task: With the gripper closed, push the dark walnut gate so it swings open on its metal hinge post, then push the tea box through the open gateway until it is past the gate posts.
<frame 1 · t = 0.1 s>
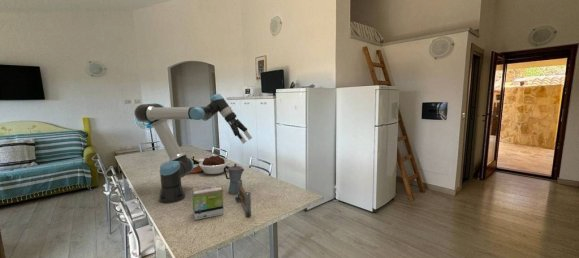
hand: (248, 140, 163), 36 cm above the table, tool tilted 35°, fingers open, 13 cm apart
gate: (243, 197, 145), point 6 cm above the table, hinge at 0.0°
bowl of brown food: (215, 172, 214), on the table
moka pot: (234, 192, 169), on the table
tea box: (208, 214, 138), on the table
gate posts: (240, 200, 156), on the table
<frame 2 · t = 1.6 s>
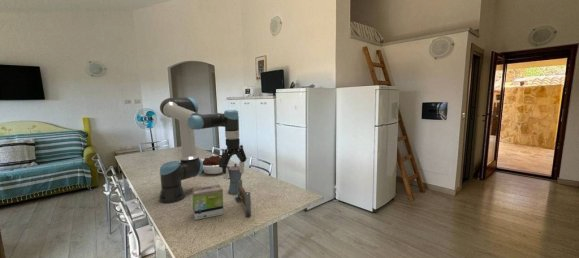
hand: (234, 175, 139), 21 cm above the table, tool pointing down, fingers open, 12 cm apart
nothing on the table moved.
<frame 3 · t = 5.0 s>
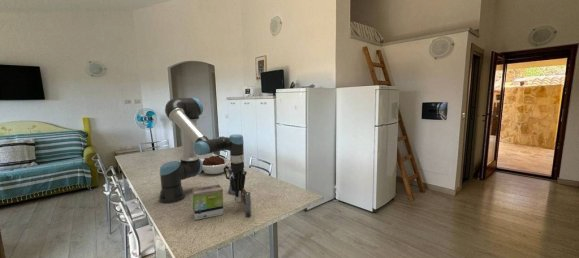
hand: (238, 201, 143), 5 cm above the table, tool pointing down, fingers closed
gate: (244, 197, 145), point 6 cm above the table, hinge at 2.3°, touching gripper
everything else where it was.
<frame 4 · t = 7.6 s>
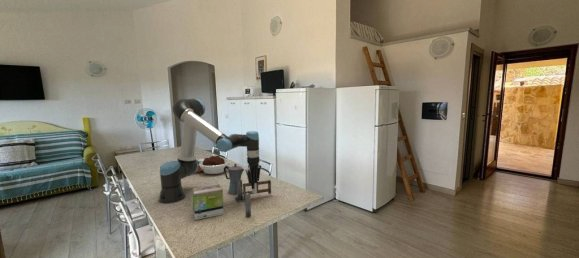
hand: (254, 193, 155), 5 cm above the table, tool pointing down, fingers closed
gate: (257, 188, 159), point 6 cm above the table, hinge at 88.5°, touching gripper
everything else where it was.
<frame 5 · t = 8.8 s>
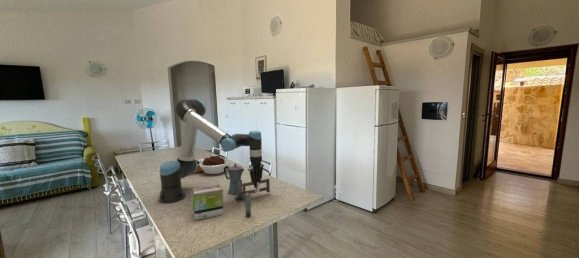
hand: (257, 191, 158), 4 cm above the table, tool pointing down, fingers closed
gate: (256, 188, 160), point 6 cm above the table, hinge at 97.3°, touching gripper
everything else where it was.
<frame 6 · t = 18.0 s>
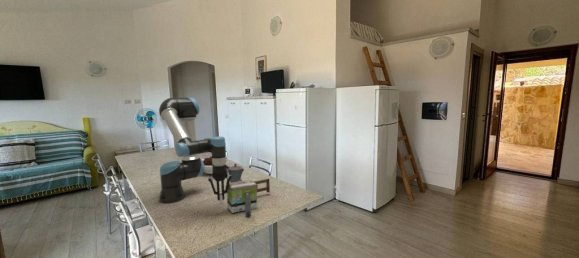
hand: (221, 205, 139), 4 cm above the table, tool pointing down, fingers closed
gate: (256, 188, 160), point 6 cm above the table, hinge at 97.3°
tea box: (242, 208, 145), on the table, touching hand
everything else where it was.
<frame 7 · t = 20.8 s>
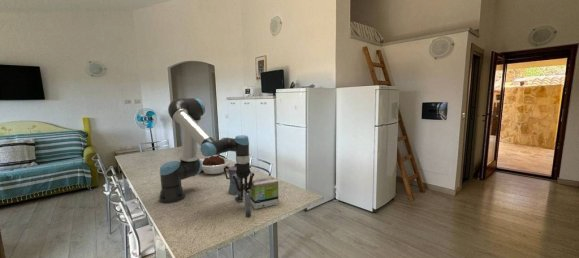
hand: (244, 201, 145), 4 cm above the table, tool pointing down, fingers closed
tea box: (264, 204, 150), on the table, touching hand
everything else where it was.
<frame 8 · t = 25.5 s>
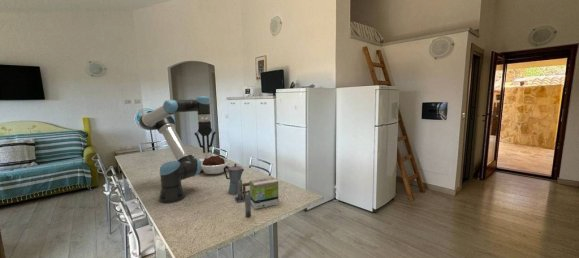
hand: (206, 157, 158), 26 cm above the table, tool pointing down, fingers closed
tea box: (264, 204, 150), on the table
everything else where it was.
at the end: tea box inside the target area (1.9 cm from its centre), on the table; gate at +97° (first picture: +0°); tea box tilted 0° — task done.
